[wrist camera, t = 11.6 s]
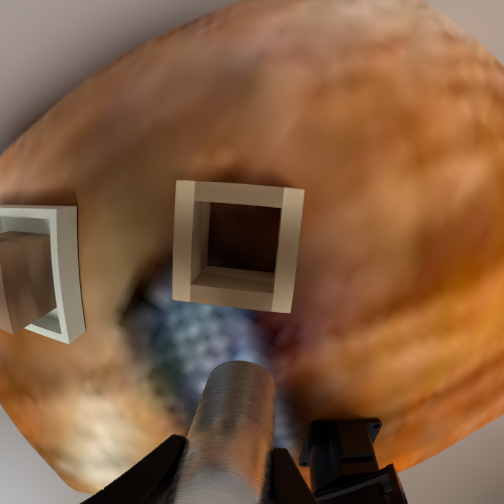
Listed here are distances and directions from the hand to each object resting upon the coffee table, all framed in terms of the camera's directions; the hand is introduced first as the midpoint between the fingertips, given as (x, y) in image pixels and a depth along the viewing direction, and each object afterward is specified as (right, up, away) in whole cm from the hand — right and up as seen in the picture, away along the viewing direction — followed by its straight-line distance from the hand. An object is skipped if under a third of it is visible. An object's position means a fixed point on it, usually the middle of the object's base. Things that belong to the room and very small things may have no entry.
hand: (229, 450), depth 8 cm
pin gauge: (0, +1, +3) cm, 4 cm away
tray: (-18, +5, +13) cm, 23 cm away
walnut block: (-18, +5, +12) cm, 22 cm away
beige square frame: (0, +7, +11) cm, 13 cm away
